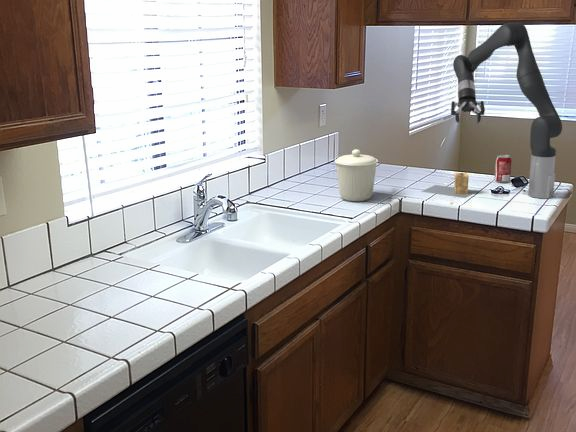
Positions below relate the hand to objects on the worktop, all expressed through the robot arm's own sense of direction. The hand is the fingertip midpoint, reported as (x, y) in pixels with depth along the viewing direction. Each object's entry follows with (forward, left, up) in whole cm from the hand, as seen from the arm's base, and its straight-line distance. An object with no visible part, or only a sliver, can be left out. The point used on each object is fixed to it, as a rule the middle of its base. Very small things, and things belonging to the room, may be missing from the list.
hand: (468, 121), depth 278 cm
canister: (+29, +46, -29) cm, 61 cm away
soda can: (-11, -15, -29) cm, 35 cm away
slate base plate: (-1, +19, -29) cm, 34 cm away
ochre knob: (-6, +19, -27) cm, 34 cm away
